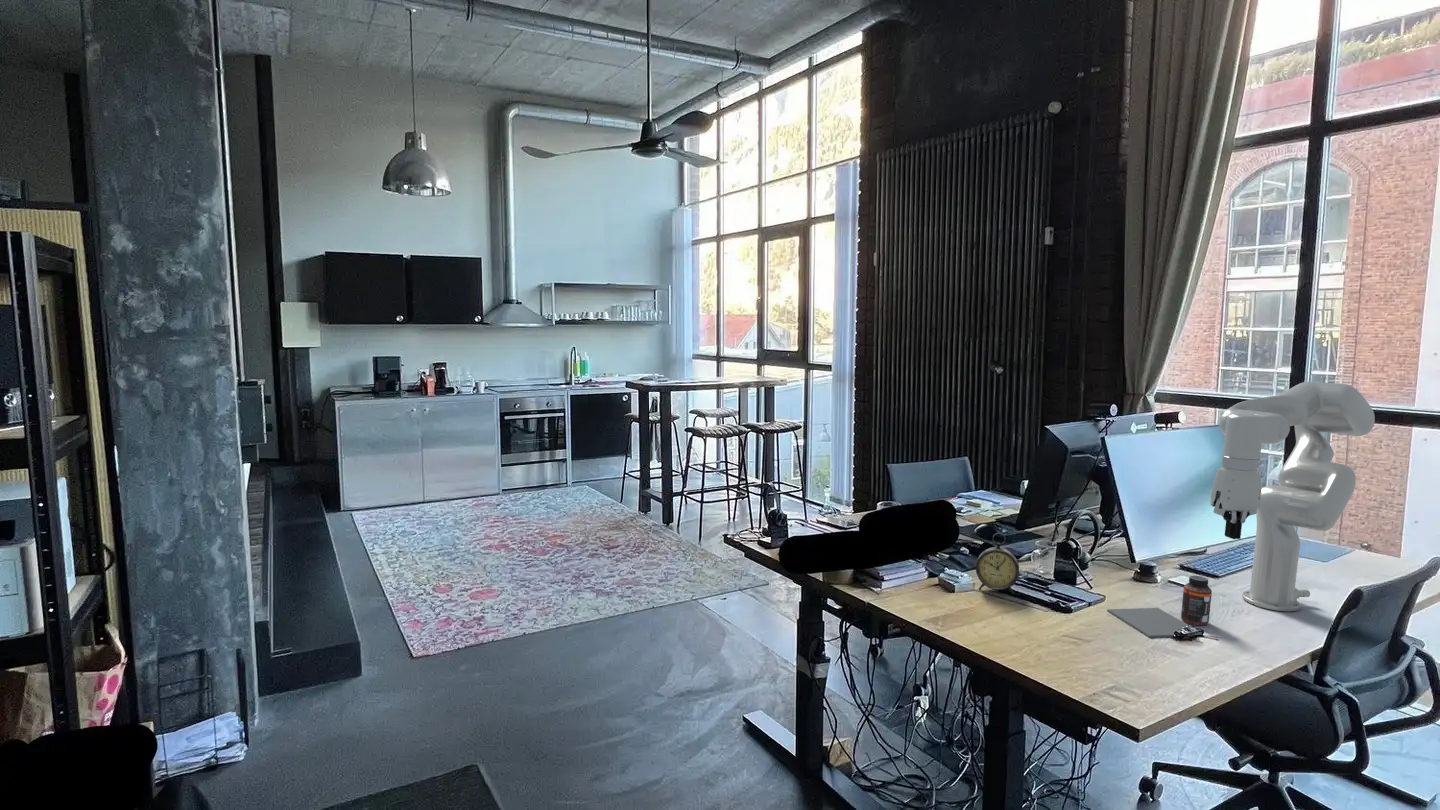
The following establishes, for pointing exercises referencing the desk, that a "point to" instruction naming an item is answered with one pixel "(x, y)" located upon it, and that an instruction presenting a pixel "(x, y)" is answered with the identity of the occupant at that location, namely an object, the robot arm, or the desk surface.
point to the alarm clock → (997, 568)
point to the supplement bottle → (1196, 601)
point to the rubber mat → (1149, 621)
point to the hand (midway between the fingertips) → (1232, 537)
